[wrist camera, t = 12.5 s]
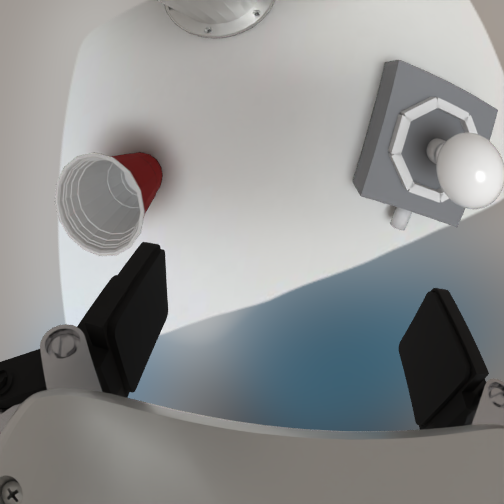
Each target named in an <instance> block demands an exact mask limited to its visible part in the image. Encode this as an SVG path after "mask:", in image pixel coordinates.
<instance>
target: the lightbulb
mask: <svg viewBox="0 0 504 504" xmlns="http://www.w3.org/2000/svg"><path fill="white" fill-rule="evenodd" d="M427 156H428V158H429V159H430V161H432V162H433V163H435V164H436V171H437V177H438V181H439V183H440V186H441V188H442V190H443V191H444V193H445V194H446V195H447V196H448V198H449V199H450V200H452V201H453V202H454V203H456V204H457V205H459V206H461V207H464V208H468V209H480V208H484V207H486V206H488V205H490V204H491V203H493V202H494V201H495V200H496V199H497V197H498V196H499V195H500V193H501V191H502V189H503V186H504V163H503V160H502V157H501V155H500V153H499V151H498V150H497V148H496V147H495V146H494V145H493V144H492V143H491V142H490V141H489V140H488V139H486V138H485V137H483V136H481V135H479V134H475V133H469V132H466V133H459V134H456V135H454V136H452V137H451V138H449V139H448V140H447V141H444V140H442V139H439V138H436V139H433V140H431V141H430V142H429V144H428V146H427Z"/></svg>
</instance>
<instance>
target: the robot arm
mask: <svg viewBox="0 0 504 504" xmlns="http://www.w3.org/2000/svg"><path fill="white" fill-rule="evenodd" d="M157 1H159V2H161V3H163V4H164V5H165V8H166V11H167V13H168V15H169V16H170V18H171V20H172V21H173V22H174V23H175V24H176V25H177V26H179V27H180V28H182V29H183V30H185V31H187V32H189V33H191V34H194V35H198V36H201V37H208V38H223V37H228V36H233V35H236V34H239V33H242V32H244V31H246V30H248V29H250V28H252V27H253V26H255V25H256V24H257V23H259V22H260V21H261V20H262V19H263V18H264V17H265V16H266V15H267V14H268V12H269V11H270V9H271V7H272V6H273V3H274V1H275V0H157ZM173 9H174V10H173ZM256 13H259V16H255V14H256ZM210 29H211V30H212V31H211V33H208V30H210ZM167 315H168V300H167V284H166V264H165V251H164V250H162V249H160V245H158V244H153V243H147V242H143V243H141V245H140V246H139V247H138V248H137V250H136V251H135V252H134V254H133V255H132V256H131V258H130V259H129V260H128V262H127V263H126V264H125V266H124V267H123V268H122V270H121V271H120V272H119V274H118V275H115V276H113V277H112V278H111V280H110V281H109V282H108V284H107V285H106V286H105V288H104V289H103V290H102V292H101V293H100V295H99V296H98V297H97V299H96V300H95V302H94V303H93V305H92V306H91V307H90V309H89V310H88V312H87V313H86V315H85V316H84V318H83V319H82V320H81V322H80V323H79V325H78V326H77V327H75V326H73V325H59V326H56V327H54V328H52V329H50V330H49V331H48V332H47V333H46V334H45V335H44V336H43V338H42V340H41V344H40V349H38V350H35V351H32V352H29V353H26V354H23V355H20V356H17V357H14V358H11V359H8V360H5V361H2V362H0V504H504V382H502V381H500V380H498V379H490V380H488V381H487V382H486V381H485V378H486V376H487V375H488V374H489V373H488V370H487V368H486V365H485V363H484V361H483V359H482V356H481V354H480V352H479V350H478V347H477V345H476V343H475V341H474V339H473V337H472V335H471V333H470V331H469V329H468V327H467V325H466V323H465V321H464V319H463V317H462V315H461V313H460V311H459V309H458V307H457V305H456V303H455V301H454V300H453V298H452V296H451V294H450V292H449V291H448V290H445V289H438V288H433V289H432V290H431V291H430V292H428V293H427V294H426V296H425V299H424V301H423V302H422V304H421V306H420V308H419V310H418V311H417V313H416V315H415V317H414V319H413V321H412V322H411V324H410V326H409V328H408V330H407V331H406V333H405V335H404V336H403V338H402V340H401V341H400V344H399V354H400V357H401V361H402V365H403V369H404V372H405V377H406V380H407V385H408V388H409V393H410V398H411V402H412V407H413V411H414V416H415V421H416V423H417V425H419V427H420V430H407V431H377V432H355V431H323V430H308V429H295V428H285V427H275V426H266V425H259V424H251V423H244V422H237V421H231V420H225V419H219V418H214V417H209V416H203V415H199V414H194V413H189V412H184V411H179V410H175V409H170V408H166V407H162V406H158V405H154V404H150V403H146V402H142V401H138V400H134V399H130V398H127V397H128V394H129V392H134V391H135V390H136V388H137V385H138V383H139V381H140V378H141V376H142V373H143V371H144V369H145V366H146V364H147V362H148V359H149V357H150V355H151V352H152V350H153V348H154V346H155V343H156V340H157V339H158V336H159V334H160V332H161V330H162V327H163V325H164V323H165V321H166V318H167Z"/></svg>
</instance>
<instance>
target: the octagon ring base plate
mask: <svg viewBox="0 0 504 504" xmlns="http://www.w3.org/2000/svg"><path fill="white" fill-rule="evenodd" d="M497 112H498V110H497V109H496V108H494V107H492V106H491V105H489V104H487V103H486V102H484V101H482V100H481V99H479V98H477V97H476V96H474V95H472V94H470V93H468V92H467V91H465V90H463V89H461V88H459V87H457V86H455V85H454V84H452V83H450V82H448V81H446V80H444V79H442V78H440V77H437V76H435V75H433V74H431V73H429V72H427V71H425V70H422V69H420V68H418V67H415V66H413V65H411V64H408V63H406V62H404V61H401V60H395V61H390V62H385V65H384V70H383V74H382V78H381V82H380V86H379V90H378V94H377V98H376V102H375V106H374V109H373V113H372V117H371V121H370V124H369V128H368V131H367V135H366V139H365V142H364V145H363V149H362V152H361V156H360V159H359V162H358V166H357V169H356V172H355V175H354V179H353V183H354V185H355V187H356V189H357V190H358V192H359V194H360V196H362V197H365V198H369V199H372V200H376V201H379V202H382V203H386V204H389V205H392V206H395V207H396V209H395V212H394V215H393V217H392V220H391V222H390V224H391V225H392V226H393V227H395V228H396V229H399V230H405V228H406V226H407V224H408V221H409V219H410V216H411V214H412V212H414V213H417V214H420V215H423V216H426V217H429V218H432V219H435V220H438V221H441V222H444V223H446V224H449V225H452V226H455V227H457V226H458V224H459V222H460V220H461V217H462V215H463V213H464V210H465V208H464V207H461V206H459V205H457V204H456V203H454V202H453V201H452V200H450V199H449V198H448V196H447V195H446V194H445V193H444V191H443V190H442V188H441V186H440V183H439V181H438V177H437V171H436V164H435V163H433V162H432V161H430V159H429V158H428V156H427V146H428V144H429V142H430V141H431V140H433V139H436V138H439V139H442V140H444V141H447V140H448V139H449V138H451V137H452V136H454V135H456V134H459V133H466V132H469V133H475V134H479V135H481V136H483V137H485V138H486V139H488V140H489V141H490V137H491V134H492V130H493V127H494V123H495V119H496V116H497Z"/></svg>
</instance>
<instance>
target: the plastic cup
mask: <svg viewBox="0 0 504 504" xmlns="http://www.w3.org/2000/svg"><path fill="white" fill-rule="evenodd" d="M161 181H162V170H161V166H160V165H159V163H158V161H157V160H156V159H155V158H154V157H152V156H151V155H149V154H145V153H141V152H139V153H132V154H124V155H118V156H112V157H109V156H106V155H102V154H99V153H95V152H94V153H89V154H84V155H80V156H77V157H75V158H74V159H73V160H72V161H71V162H69V163H68V164H67V165H66V166H65V167H64V168H63V170H62V172H61V175H60V177H59V179H58V181H57V184H56V195H55V204H56V208H57V213H58V217H59V220H60V222H61V224H62V226H63V227H64V229H65V231H66V232H67V234H68V236H69V237H70V238H71V239H72V240H73V241H74V242H75V243H77V244H78V245H79V246H80V247H81V248H82V249H83V250H86V251H88V252H91V253H94V254H96V255H99V256H113V255H118V254H119V253H121V252H123V251H125V250H127V249H129V248H130V247H131V246H132V245H133V243H134V242H135V240H136V239H137V237H138V236H139V234H140V233H141V229H142V224H143V218H144V214H145V213H146V211H147V209H148V207H149V206H150V204H151V202H152V200H153V199H154V197H155V195H156V192H157V191H158V189H159V187H160V185H161Z"/></svg>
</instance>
